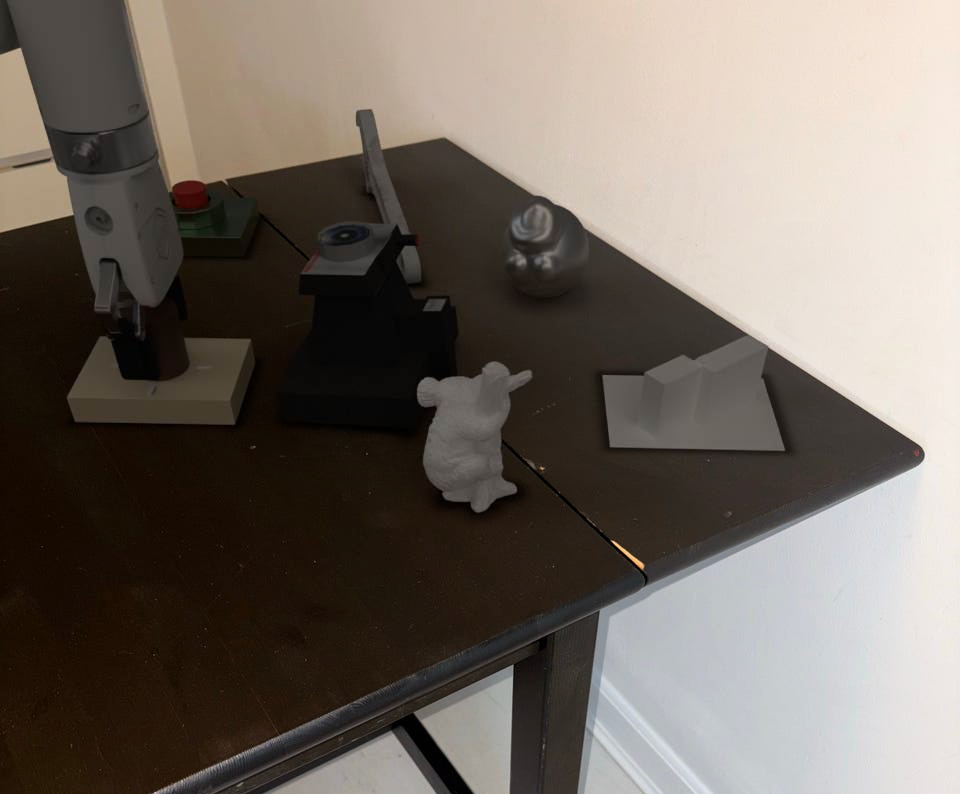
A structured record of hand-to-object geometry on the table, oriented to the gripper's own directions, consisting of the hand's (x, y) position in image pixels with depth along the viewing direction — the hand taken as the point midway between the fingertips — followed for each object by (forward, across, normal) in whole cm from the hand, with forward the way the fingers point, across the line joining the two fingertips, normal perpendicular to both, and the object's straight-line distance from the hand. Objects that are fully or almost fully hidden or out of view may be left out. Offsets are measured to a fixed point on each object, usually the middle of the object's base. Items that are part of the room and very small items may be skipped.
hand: (157, 347), depth 86 cm
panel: (+4, 0, 0) cm, 4 cm away
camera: (+5, +2, -20) cm, 21 cm away
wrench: (+5, +34, -17) cm, 38 cm away
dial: (+2, 0, 0) cm, 2 cm away
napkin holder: (+5, -1, -47) cm, 47 cm away
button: (+1, +31, +4) cm, 31 cm away
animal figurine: (+5, -14, -28) cm, 32 cm away
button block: (+4, +31, +4) cm, 32 cm away
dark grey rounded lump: (+5, +19, -34) cm, 39 cm away
